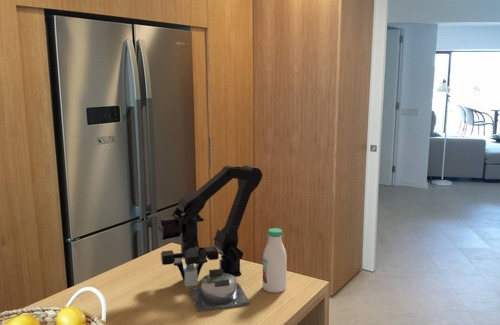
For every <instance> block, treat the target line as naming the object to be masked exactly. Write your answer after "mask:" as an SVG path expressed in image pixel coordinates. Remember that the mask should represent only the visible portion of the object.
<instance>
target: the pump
mask: <svg viewBox="0 0 500 325" xmlns="http://www.w3.org/2000/svg"><path fill="white" fill-rule="evenodd" d="M183 270H184V277H185V279H184V281H183V283H184V286H185V287H194V286H198V284H199V281H198V279H199V278H198V279H197V269H196V264H190V265H187V264H185V265H183Z"/></svg>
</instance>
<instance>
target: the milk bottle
mask: <svg viewBox="0 0 500 325" xmlns="http://www.w3.org/2000/svg"><path fill="white" fill-rule="evenodd" d="M267 237H268V240H267V243H266V245H265V248H264V250H263V253H262V254H263V255H262V289H263V290H264V291H265V292H268V293H271V294H273V293H274V294H277V293H282V292H284V291H286V288H287V264H288V263H287V251H286V248H285V246H284V244H283V241H282V237H283V230H282V229H281V228H277V227H276V228H274V227H271V228H270V229H268V230H267Z"/></svg>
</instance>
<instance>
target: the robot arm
mask: <svg viewBox="0 0 500 325" xmlns="http://www.w3.org/2000/svg"><path fill="white" fill-rule="evenodd" d="M233 179H236V180H237V185H238V188H237V192H236V194H235V197H234V199H233V203H232V206H231V209H230V210H229V214H228V217H227V219H226V223H225V225H224V227H223V228H222V229H221V230H220V229H217V230H216V232H215V236H214V238H213V239H212V240H213V241H214V242H213V246H205V247H204V246H202V247H200V245H199V232H198V231H199V224H198V223H199V222H204V221H205V219H204V218H203V217H202V216H201V215H200V214H199V213H201V211H202V210H203V209H204V208H205V205H206V204H207V202H208V201H209V200H210V199H211V198H212V197H213V196H214V195H215V194H217V193H218V192H219V191H220V190H221V189H222V188H224V186H226V185H227V184H228V183H230V181H232V180H233ZM262 179H263V173H262V170H261V169H260V168H258V167H255V166H253V165H249V164H246V165H243V166H236V165H235V166H233V165H232V166H231V165H225V166H223V168H222V169H221V170H220V171H219V172H217V173H216V174H215V175H214V176H213V177H212V178H210V179H209V180H208V181H206V182H205V183H204V184H203V185H202V186H201V187H200V188H198V189H197V190H195V191H193V192H190V193H188V194H186V195H184V196H182V197H181V198H180V199H179V200H178V202H177V205H176V206H177V207H176V208H175V209H174V211H173V213H172V215H171V217H168V218H158V219H159V220H158V223H157V227H156V233H157V234H156V235H157V237H158V239H159V241H161V242H162V241H167V240H172V239H173V240H174V239H178V238H179V237H180V252H179V253H178V252H177V253H175V252H173V250H172V249H171V250H170V249H169V250H162V251H161V253H160V260H161V264H162V265H163V266H165V265H166V266H167V265H173V266H174V267H177V268H178V270H179V273H180V275H181V279H182V281H183V282H184V279H185V277H184V270H183V266H184V264H183V259H184V263H185V265H186V264H187V265H190V264H194V265H195V267H196V269H197V279H199V275H200V273H201V270H202V267H203V265H205V264H206V263H208V260H209V261H216V260H219V269H223V273H227V274H231V275H233V276H235V277H236V276H241V275H242V272H241V260H242V259H243V257H244V252H243V251H242V250H240V248H238V245H239V244H238V243H239V229H240V226H241V224H242V221H243V217H244V216H245V215H244V214H245V212H246V209H247V207H248V204H249V200H250V198H251V194H252V193H253V192H254V191H256V189H257V188H258V187H259V185H260V182H261V181H262ZM182 214H183V215H182ZM219 255H220V257H219ZM219 258H220V259H219Z"/></svg>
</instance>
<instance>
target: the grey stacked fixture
mask: <svg viewBox="0 0 500 325" xmlns="http://www.w3.org/2000/svg"><path fill="white" fill-rule="evenodd" d="M200 281H201V283H200V284H201V286H199V287H191V288H190V294H191V297H192V300H193V302H194V306H195V308H196V312H200V313H201V312H205V311H212V310H213V311H216V310H222V309H228V308H229V309H230V308H236V307H243V306H250V304H251V301H250V300H249V298H248V296H247V295H246V294H245V291H244V290H243V288H242V286H241V285H240V283H239V282H238V280H237V277H236V276H233V275H231V274H227V273H223V269H220V268H217V269H209V270H208V274H207V275H204V276H203V277H202V278H201V280H200Z"/></svg>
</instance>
